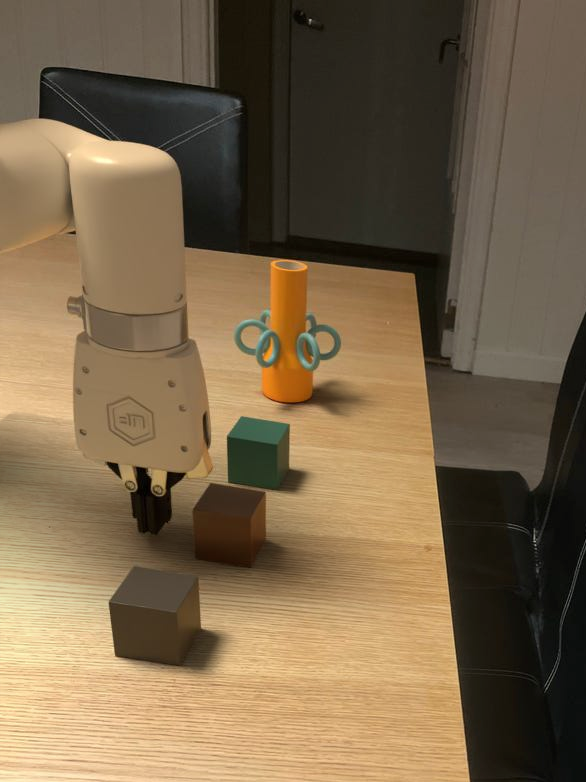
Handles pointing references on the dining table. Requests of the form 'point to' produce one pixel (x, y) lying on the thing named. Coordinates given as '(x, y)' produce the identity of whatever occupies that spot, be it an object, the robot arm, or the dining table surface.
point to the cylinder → (287, 336)
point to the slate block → (155, 615)
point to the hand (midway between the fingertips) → (153, 526)
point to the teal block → (258, 452)
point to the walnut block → (229, 525)
